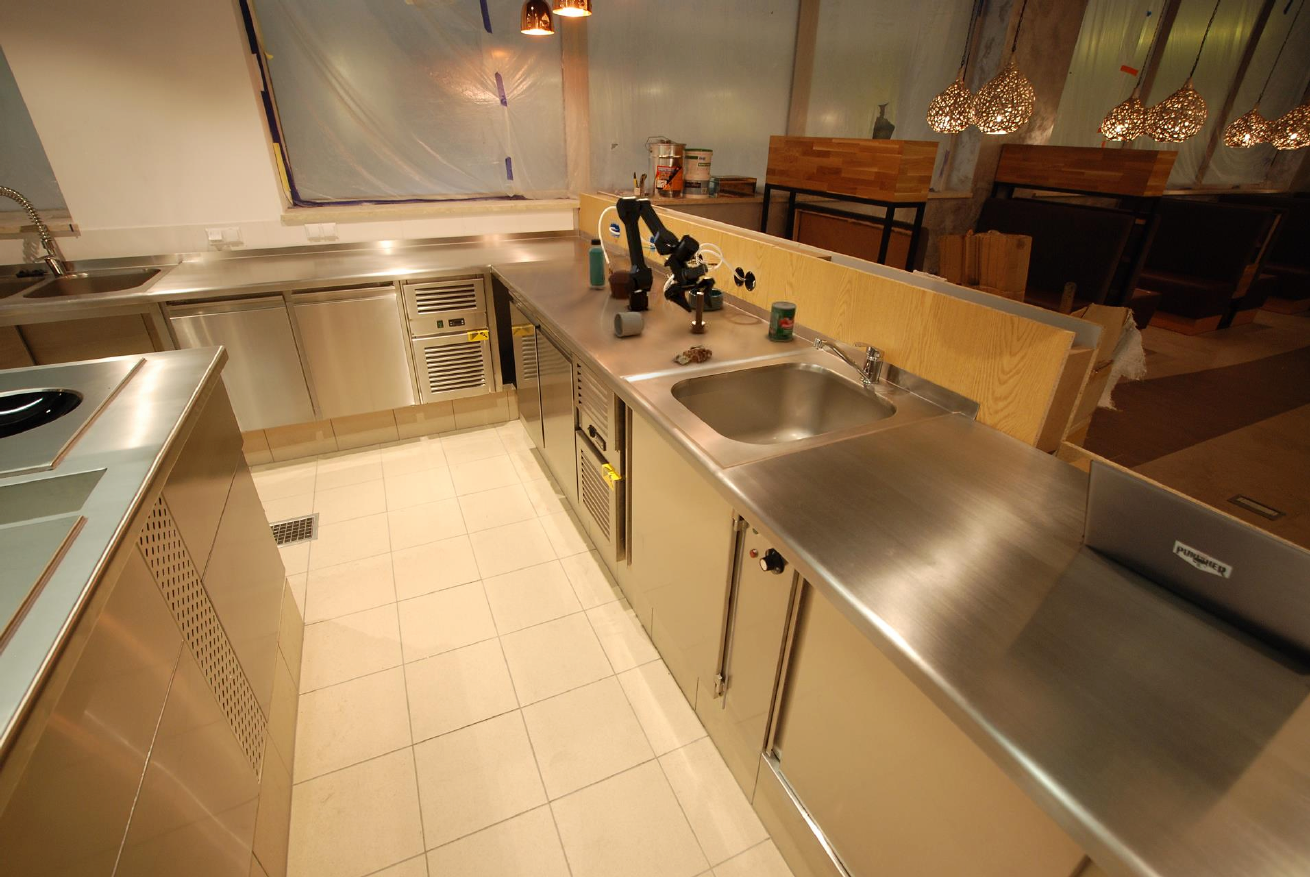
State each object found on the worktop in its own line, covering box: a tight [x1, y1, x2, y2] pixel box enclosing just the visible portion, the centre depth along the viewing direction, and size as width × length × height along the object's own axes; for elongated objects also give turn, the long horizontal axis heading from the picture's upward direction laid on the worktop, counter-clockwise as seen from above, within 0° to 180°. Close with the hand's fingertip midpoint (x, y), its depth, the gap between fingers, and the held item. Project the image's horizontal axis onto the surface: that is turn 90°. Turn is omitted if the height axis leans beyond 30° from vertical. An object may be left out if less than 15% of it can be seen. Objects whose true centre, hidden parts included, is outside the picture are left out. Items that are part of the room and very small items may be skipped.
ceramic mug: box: [613, 311, 645, 338], centre depth 189 cm, size 11×8×8 cm
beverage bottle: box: [588, 238, 606, 287], centre depth 239 cm, size 6×7×20 cm
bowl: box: [687, 288, 725, 312], centre depth 220 cm, size 13×13×6 cm
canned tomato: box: [767, 301, 797, 342], centre depth 187 cm, size 8×8×11 cm
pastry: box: [674, 344, 713, 365], centre depth 170 cm, size 7×12×4 cm, turn 134°
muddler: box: [691, 292, 706, 335], centre depth 191 cm, size 4×4×13 cm
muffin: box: [607, 269, 630, 300], centre depth 230 cm, size 12×11×10 cm
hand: (701, 310), depth 190 cm, fingers open, 9 cm apart
